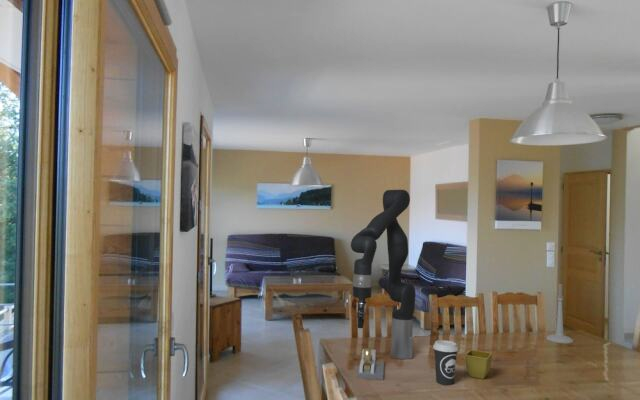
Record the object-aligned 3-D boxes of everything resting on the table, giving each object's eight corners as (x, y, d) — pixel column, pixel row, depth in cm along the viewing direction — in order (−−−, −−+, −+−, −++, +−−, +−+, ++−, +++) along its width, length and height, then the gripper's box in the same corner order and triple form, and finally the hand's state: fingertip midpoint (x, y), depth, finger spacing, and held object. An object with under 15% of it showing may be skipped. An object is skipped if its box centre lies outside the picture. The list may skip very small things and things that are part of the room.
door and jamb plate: (384, 363, 206) (384, 350, 206) (383, 379, 185) (383, 365, 185) (360, 361, 207) (361, 348, 207) (357, 377, 186) (357, 363, 187)
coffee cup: (458, 380, 187) (459, 341, 187) (457, 388, 178) (457, 347, 178) (433, 376, 190) (434, 338, 190) (430, 384, 181) (431, 344, 181)
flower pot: (487, 382, 185) (487, 358, 186) (464, 377, 190) (464, 354, 190) (492, 375, 193) (492, 353, 193) (470, 371, 197) (470, 349, 198)
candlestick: (540, 337, 257) (541, 281, 258) (561, 336, 260) (561, 281, 261) (558, 343, 245) (558, 284, 246) (579, 342, 248) (579, 284, 249)
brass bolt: (371, 364, 198) (372, 345, 198) (370, 371, 190) (371, 350, 190) (364, 364, 198) (364, 344, 198) (363, 370, 190) (363, 350, 190)
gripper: (371, 288, 186) (369, 330, 186) (371, 283, 200) (370, 322, 200) (351, 287, 187) (350, 329, 187) (353, 282, 201) (352, 321, 201)
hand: (360, 325), depth 193 cm, fingers open, 8 cm apart
